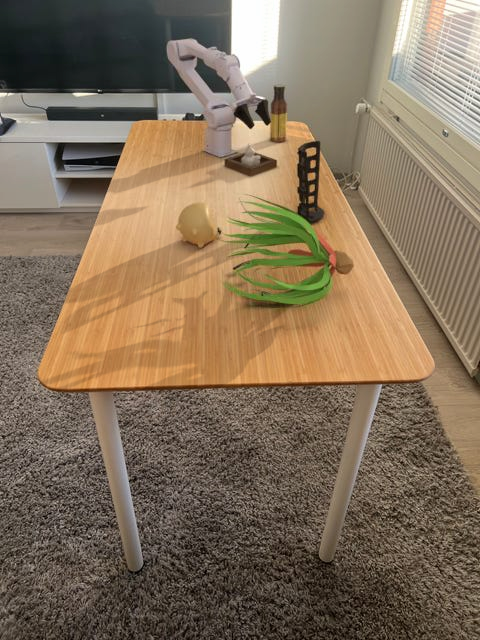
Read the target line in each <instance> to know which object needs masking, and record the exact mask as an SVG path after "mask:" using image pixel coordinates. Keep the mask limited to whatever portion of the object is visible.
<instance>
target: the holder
mask: <svg viewBox="0 0 480 640" xmlns="http://www.w3.org/2000/svg"><path fill="white" fill-rule="evenodd" d="M312 148H314V149H315V154H313V155H308V152H307V151H306V150H308V149H312ZM296 154H297V155H298V162H297V163H296V173H297V175H296V176H297V178H298V186H297V187H296V188H297V189H296V191H297V193H298V201H299V202H298V205H297V206H296V207H297V214H299V215H300V216H302V217H303V218H304V219H306V220H307V221H308V222H309V223H310V225H312V224H315V223H317V222H318V221H321V220H322V219H323V218H324V216H325V211H324V209H323V208H321V207H320V206H319V205H318V203H319V201H318V199H319V187H320V165H321V140H314V141H309V142H305V143H302V144H301V145H300V146H299V147H298V148H297V153H296ZM313 161H315V165H314V167H312V166H311V163H312V162H313ZM313 173H314V178H313V179H310V180H309V174H313ZM312 185H314V190H312V191H311V186H312ZM310 197H313V201H312V202H310V200H309V198H310ZM310 209H314V210H310Z"/></svg>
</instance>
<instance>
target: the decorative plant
mask: <svg viewBox="0 0 480 640" xmlns="http://www.w3.org/2000/svg"><path fill="white" fill-rule="evenodd" d="M244 196H248V197H253V198H254V199H255V198H256V199H258V200H260V201H262V202H265V203H267V204H270V205H267V204H263V203H260V202H259V203H258V202H253V201H243V200H241V199H240V198H238V199H239V202H238V201H237V204H238V203H239V204H241V206H242V208H243V209H244V211H242V212H241V214H247V215H249V216H250V217H252V218H253V219H255V220H257V221H260V222H252V223H251V222H246V221H241V220H238V219H233V218H231V217H229V216H228V215H226V216H227V218H228V219H229V220H228V219H227V218H224V220H226V222H228V223H230V224H232V225H236V226H239V227H244V228H246V229H244V230H243V232H245V231H249V230H250V231H251V230H255V231H259V232H260V233H235V234H227V233H224V232H223V231H222V230H221V233H222V234H223V235H224V236H226V237H229V238H235V239H239V240H223V239H220V241H221V242H222V243H229V244H245V246H240V247H239V246H238V247H235V248H228V249H225V248H224V249H223V248H222V249H221V250H223V251H229V250H230V251H231V250H238V249H244V250H238V251H235V252H231V253H227V254H225V256H226V258H232V257H237V256H245V255H250V254H254V253H255V254H256V253H259V254H261V255H264V256H269V257H280V258H252V259H251V260H247V261H244V262H241V263H239V264H237V265H235V266H233V267H232V270H233V271H234V272H232V273H231V276H232V275H236V274H238V275H239V277H240V278H242V281H246V282H248V283H250V284H251V285H254V286H258V287H260V288H264V289H269V290H270V289H271V290H278V291H284V292H277V293H271V292H267V291H265V290H260V289H253V288H252V289H251V290H252V291H251V290H250V291H251V292H252V293H251V292H247V291H248V289H247V290H245V291H242V290H240V289H238V288H237V287H235V286H234V285H233V284H232V283H230V282H229V281H227V283H228V284H229V285H230V286H231V287H230V286H228V285H227V284H226V283H223V282H222V281H221V280H222V279H220V283H221V284H222V285H223V286H224V287H226V289H228V290H229V291H231V292H233V293H235V294H237V295H239V296H243V297H245V298H249V299H253V300H259V301H269V302H270V301H271V302H275V303H274V305H275V304H276V305H277V304H278V303H279V304H288V305H296V306H291V307H289V306H288V307H270V308H269V307H267V309H270V310H287V309H288V310H289V309H296V308H301V307H306V306H309V305H312V304H314V303H317V302H318V301H321V300H322V299H324V297H326V296H327V295H328V294H329V293H330V291H331V289H332V286H333V280H332V277H333V276H334V273H335V271H336V272H337V274H339V275H348V274H350V273H351V271H352V270H353V268H354V267H355V264H354V260H353V259H352V257H350V255H348V254H347V253H346V252H344V251H342V250H337V249H335V250H334V249H333V247H331V245H330V243H328V241H326V239H325V238H324V237H323V236H322V235H321V234H320V233H319V232H318V230H317V229H315V228H314V227H313V226H312V224H310V223H309V222H308V221H307V220H306V219H304V218H303V217H302V216H300V215H299V214H298V212H296V211H293V210H291V209H290V208H288V207H285V206H283V205H280V204H278V203H274V202H272V201H269V200H266V199H263V198H260V197H258V196H255V195H251V194H247V193H244ZM243 203H244V204H250V205H253V206H256V207H259V208H262V209H265V210H268V211H269V212H265V211H254V210H251V211H250V210H247V209H246V208H245V206H244V205H243ZM270 211H271V212H270ZM258 216H259V217H262V218H259V217H258ZM263 218H266V219H269V220H266V219H263ZM230 220H231V221H230ZM271 220H272V221H271ZM217 237H218V236H217ZM218 238H219V237H218ZM240 239H241V240H240ZM290 244H305V245H306V246H307V247H308V249H309V251H308V250H303V249H298V248H297V249H296V248H295V249H290V250H288V251H287V252H283V251H281V252H280V251H272V250H270V249H267V248H265V247H275V246H281V245H290ZM249 245H250V246H249ZM216 246H217V248H219V247H218V245H216ZM246 249H247V250H246ZM257 266H262V267H266V268H262V267H261V268H260V267H259V268H256V269H254V273H255V272H257V271H258V270H262V269H265V270H266V269H267V267H271V268H270V270H275V269H281V268H282V269H283V267H290V268H293V267H294V268H295V267H304V268H320V267H322V268H320V269H319V270H318V271H316V273H315V274H312V275H311V276H309V277H307V278H305V279H303V280H302V281H299V282H296V283H286V282H283V281H280V280H278V279H275V278H273V277H271V276H270V275H268V274H267V273H266V274H265V273H263V277H266V278H268V279H270V280H271V281H273V282H275V283H276V284H270V283H263V282H260V281H256V280H253V279H251V278H249V276H247V275H246V274H245V270H248V269H251V268H254V267H257ZM272 267H273V268H272ZM240 272H243V274H244V275H243V274H241V273H240ZM285 290H286V291H285ZM253 291H257V292H259V293H253ZM216 293H218V291H216ZM298 304H299V305H298ZM255 305H256V304H254V303H252V306H253V307H254V308H255ZM263 305H267V303H264V304H263ZM256 308H259V309H260V307H258V306H257V307H256Z"/></svg>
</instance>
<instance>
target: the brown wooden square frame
mask: <svg viewBox="0 0 480 640" xmlns="http://www.w3.org/2000/svg"><path fill="white" fill-rule="evenodd" d="M254 152H255V154H254V156H256V155H258V156H260V157H261V158H260V163H259V164H255V165H254V166H252V167H250V166H248V165H245V164H242V162H241V159H242V157H243V156H244V155H245V154H244V152H242V153H238V154H236V155H233V156H230V157H227V158H224V167H226V168H228V169H231V170H233V171H236V172H238V173H240V174H244V175H245V176H247V177H248V176H249V177H253V176H256V175H259V174H261V173H265V172H267V171H270V170H273V169H275V168H277V165H278V159H275V158H272V157H270V156H267V155H264V154H261V153H259V152H256V151H254Z"/></svg>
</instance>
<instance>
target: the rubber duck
mask: <svg viewBox="0 0 480 640" xmlns="http://www.w3.org/2000/svg"><path fill="white" fill-rule="evenodd" d="M255 152H256V151H255V149H254V148H253V147H252V145H250V143H248V145H247V147H246V148H245V150H244V151H243V153H244V154H245V155H244V156H243V157H242V159H241V162H242V164H245V165H248V166H250V167H252V166H255V165H258V164H260V158H261V157H260V156H258V155H256V156H254V154H255Z"/></svg>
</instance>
